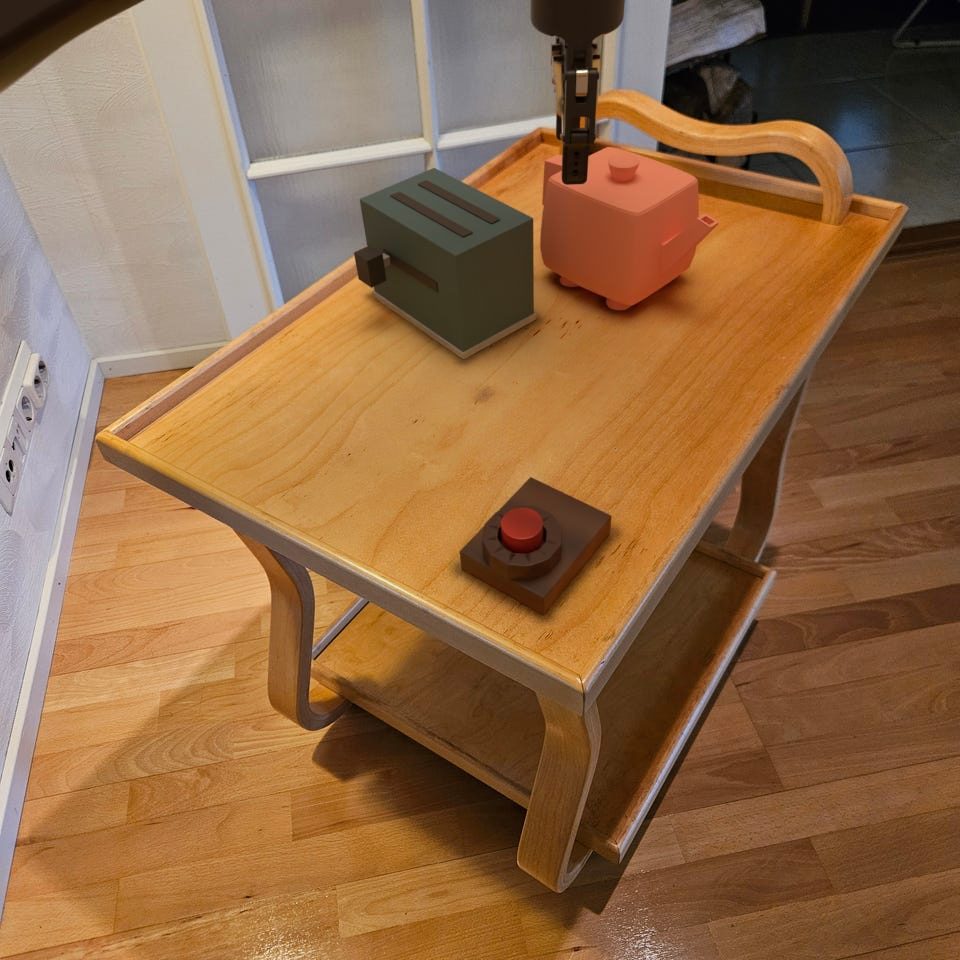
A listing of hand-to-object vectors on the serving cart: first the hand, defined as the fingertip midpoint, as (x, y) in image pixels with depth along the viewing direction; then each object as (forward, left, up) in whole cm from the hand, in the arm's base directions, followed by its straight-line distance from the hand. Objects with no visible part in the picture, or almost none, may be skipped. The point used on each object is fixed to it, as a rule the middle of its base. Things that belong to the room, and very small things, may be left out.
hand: (570, 159), depth 76 cm
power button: (-6, -33, -15) cm, 36 cm away
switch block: (-5, -31, -19) cm, 36 cm away
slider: (-20, +3, -13) cm, 24 cm away
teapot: (+7, +9, -19) cm, 22 cm away
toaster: (-12, +5, -19) cm, 23 cm away
